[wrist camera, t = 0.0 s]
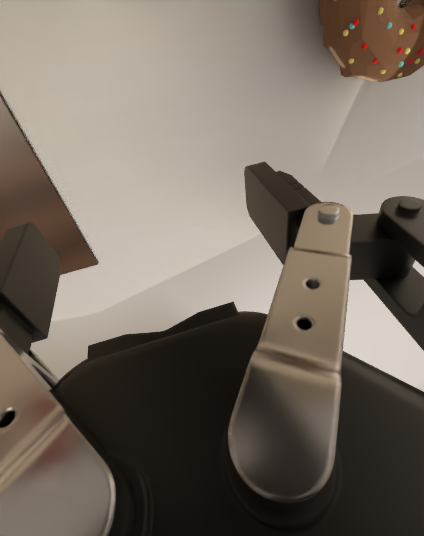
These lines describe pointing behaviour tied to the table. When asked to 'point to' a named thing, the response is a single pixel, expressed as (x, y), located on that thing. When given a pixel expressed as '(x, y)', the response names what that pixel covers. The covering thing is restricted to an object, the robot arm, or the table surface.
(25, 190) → the placemat
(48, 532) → the robot arm
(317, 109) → the table surface
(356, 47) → the donut
